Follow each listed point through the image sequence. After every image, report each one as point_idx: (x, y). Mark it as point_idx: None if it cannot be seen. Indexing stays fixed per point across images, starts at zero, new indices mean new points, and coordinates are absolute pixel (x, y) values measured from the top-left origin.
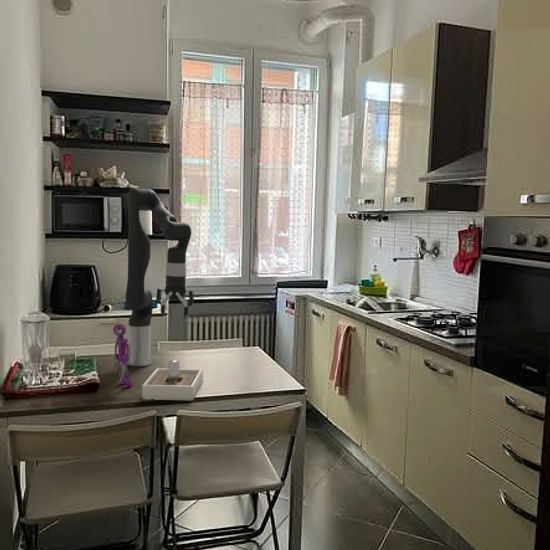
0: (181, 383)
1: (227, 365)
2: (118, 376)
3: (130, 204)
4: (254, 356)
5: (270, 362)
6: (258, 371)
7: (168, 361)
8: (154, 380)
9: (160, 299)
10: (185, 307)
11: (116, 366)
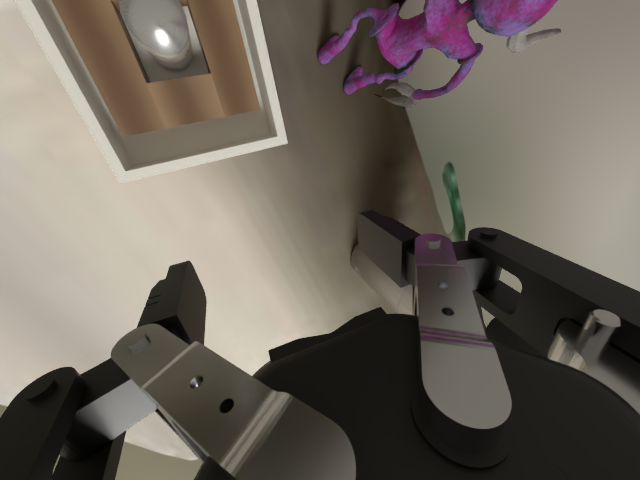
0: None
1: None
2: None
3: None
4: (144, 422)
5: None
6: (20, 340)
7: (178, 3)
8: (235, 11)
9: (484, 295)
10: (157, 319)
11: (398, 99)
